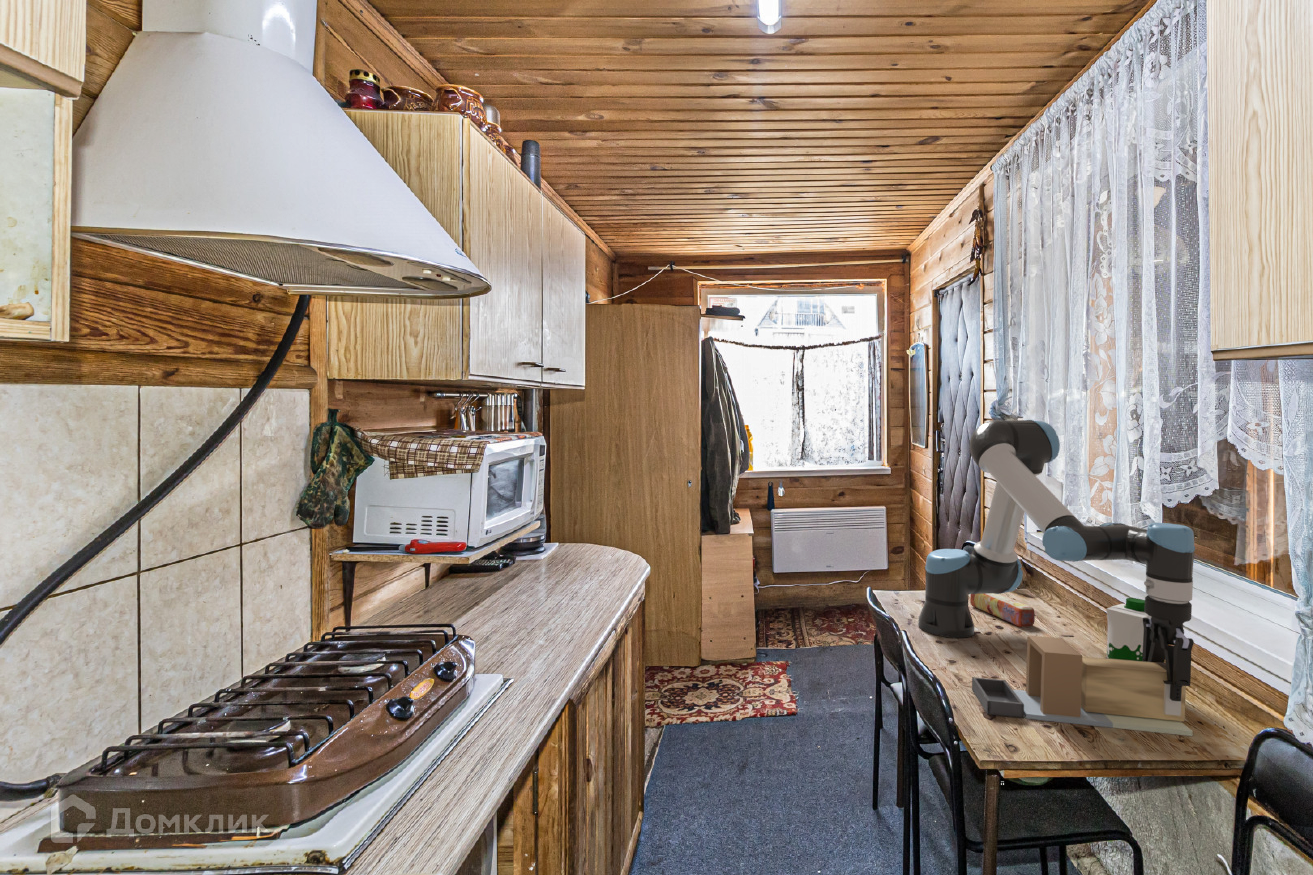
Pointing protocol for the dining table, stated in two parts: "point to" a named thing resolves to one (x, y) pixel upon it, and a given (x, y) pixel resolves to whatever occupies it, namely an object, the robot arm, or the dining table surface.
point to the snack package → (1004, 608)
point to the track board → (1072, 691)
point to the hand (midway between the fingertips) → (1163, 707)
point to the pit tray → (997, 697)
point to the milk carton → (1126, 630)
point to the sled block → (1126, 688)
